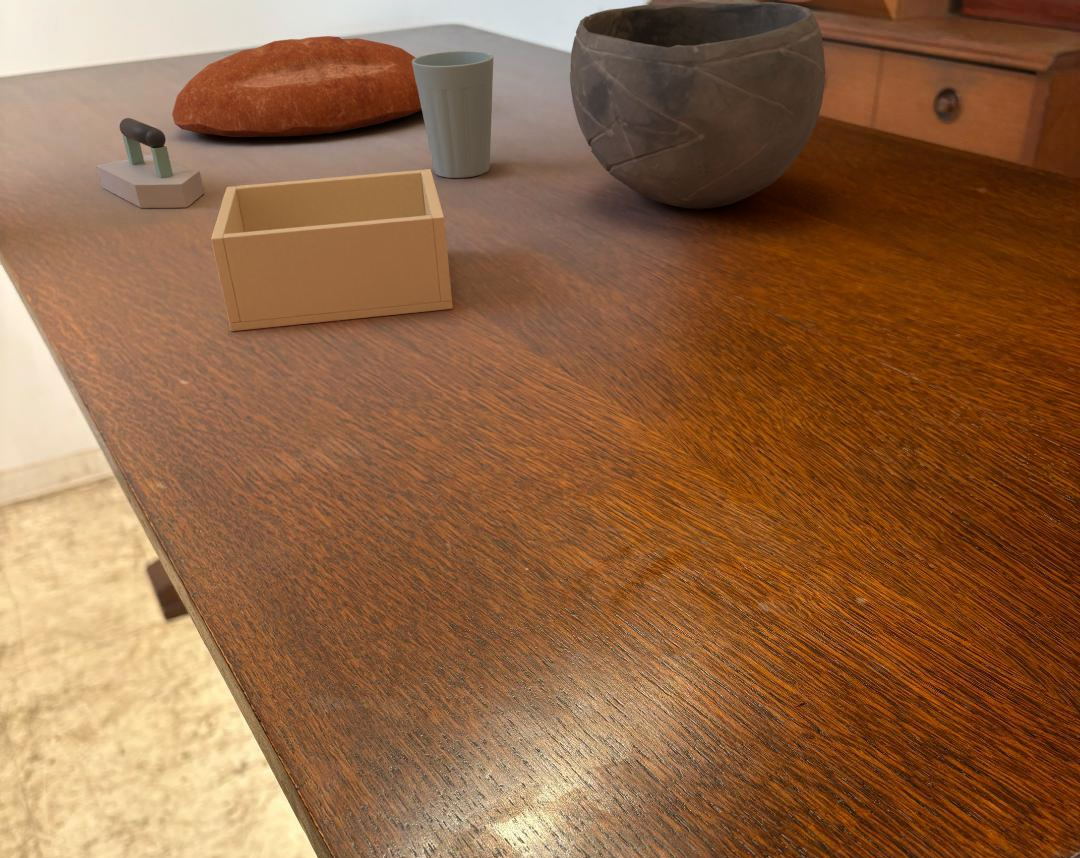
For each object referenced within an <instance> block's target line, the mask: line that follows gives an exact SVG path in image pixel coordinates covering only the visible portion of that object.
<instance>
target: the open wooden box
mask: <svg viewBox="0 0 1080 858" xmlns="http://www.w3.org/2000/svg"><path fill="white" fill-rule="evenodd" d="M441 204H442V203H441V201H440V197H439V194H438V190H437V187H436V182H435V180H434V176H433V173H432V169H431V168H425V169H416V170H415V169H414V170H405V171H392V172H381V173H380V172H379V173H369V174H358V175H346V176H335V177H325V178H323V177H321V178H313V179H302V180H301V179H300V180H288V181H278V182H277V181H276V182H267V183H257V184H256V183H255V184H246V185H245V184H244V185H243V184H242V185H237V186H235V185H234V186H226V188H225V191H224V195H223V198H222V201H221V205H220V208H219V211H218V214H217V218H216V222H215V224H214V227H213V232H212V234H211V238H210V242H211V247H212V251H213V255H214V261H215V265H216V270H217V274H218V280H219V283H220V288H221V293H222V297H223V302H224V305H225V306H224V307H225V311H226V316H227V320H228V323H229V331H230V332H237V331H248V330H259V329H269V328H278V327H286V326H297V325H298V326H299V325H308V324H316V323H327V322H336V321H347V320H355V319H356V320H357V319H367V318H373V317H374V318H376V317H386V316H395V315H396V316H397V315H406V314H416V313H426V312H434V311H435V312H436V311H445V310H453V308H454V306H453V297H452V296H453V295H452V286H451V284H452V283H451V276H450V275H451V273H450V265H449V254H448V253H449V252H448V244H447V243H448V242H447V232H446V221H445V215H444V212H443V208H442V205H441Z"/></svg>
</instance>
